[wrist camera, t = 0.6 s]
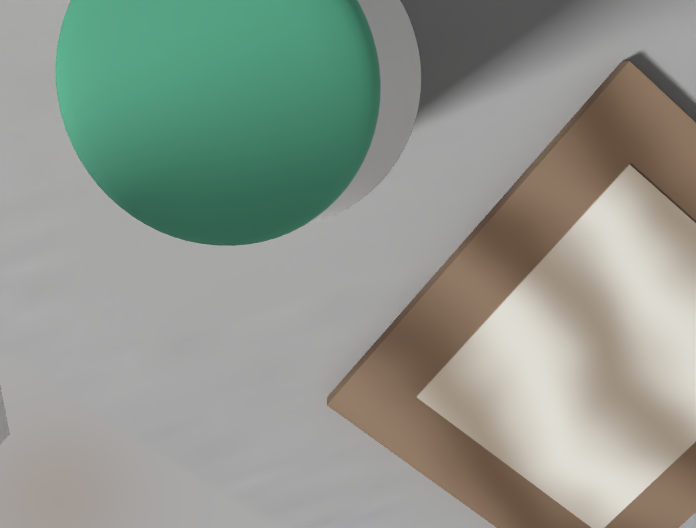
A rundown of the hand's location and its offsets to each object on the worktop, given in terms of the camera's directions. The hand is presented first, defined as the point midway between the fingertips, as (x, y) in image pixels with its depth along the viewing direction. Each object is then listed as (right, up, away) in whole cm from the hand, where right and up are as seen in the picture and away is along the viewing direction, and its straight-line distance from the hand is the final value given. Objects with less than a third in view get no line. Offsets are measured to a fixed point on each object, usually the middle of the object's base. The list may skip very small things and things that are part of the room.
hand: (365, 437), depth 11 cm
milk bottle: (-2, +11, +18) cm, 21 cm away
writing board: (+12, -2, +21) cm, 24 cm away
